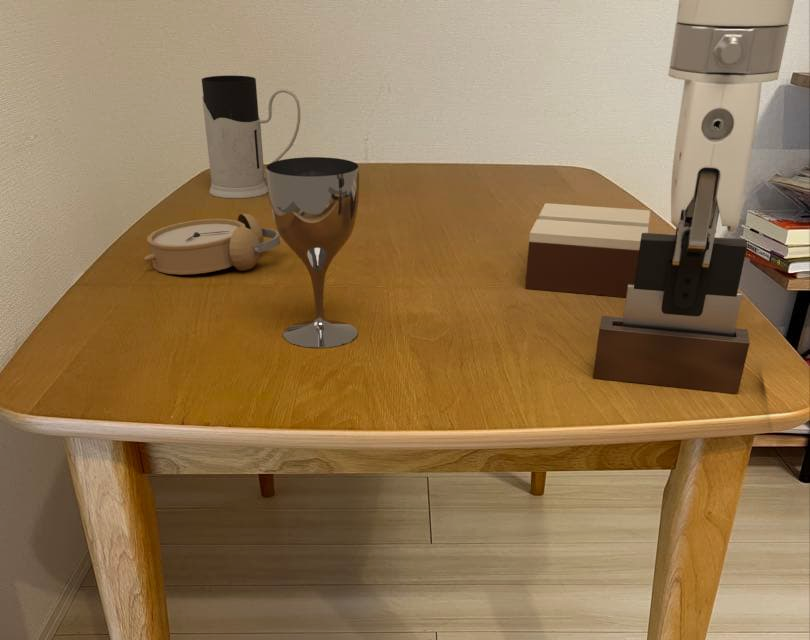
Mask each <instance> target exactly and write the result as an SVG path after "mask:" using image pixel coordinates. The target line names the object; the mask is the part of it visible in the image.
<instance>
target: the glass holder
mask: <svg viewBox="0 0 810 640" xmlns="http://www.w3.org/2000/svg"><path fill="white" fill-rule="evenodd" d="M201 87H202V108H203V118H204V126H205V135H206V136H205V137H206V144H207V151H208V152H207V153H208V162H209V163H208V164H209V172H210V180H211V181H210V182H211V184H210V188H209V194H210V195H211V196H214V197H218V198H223V199H248V198H256V197H260V196H263V195H266V194H267V193H268V186H267V182H266V181H267V171H266V169H265V167H264V166H265V165H264V152H263V139H262V127H261V126H262V125H261V124H267V123H269V122H270V121H271V120H272V116H273V114H272V113H273V111H272V109H273V102H274V99H275V98H276V96H277V95H278V94H281V93H286V94H288V95H290V96H291V97H292V98H293V99H294V102H295V103H296V108H297V120H296V121H297V122H296V126H295V131H294V133H293V136H292V138H291V140H290V142H289V144H287V145H288V146H287V147H286V148H285V149H284V150H283V151H282V152H281V154H279V155H278V156H277V157H276V158H275V159H273V161H272V162H275V161H279V160H281V159H282V158H283V156H284V155H285V154H286V153H287V152H289V150H290V149H291V148H292V147H293V145H294V143H295V141H296V138H297V136H298V133H299V129H300V125H301V106H300V101H299V99H298V97H297V96H296V95H295V94H294V93H293V91H291V90H288V89H281V88H280V89H278V90H276V91H275V92H273V94H272V95H271V96H270V99H269V102H268V117H267V119H264V120H262V119H261V118H260V116H259V104H258V103H259V102H258V90H257V79H256V77H253V76H250V75H249V76H248V75H214V76H213V75H211V76H206V77H203V78H201Z"/></svg>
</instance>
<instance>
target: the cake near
mask: <svg viewBox="0 0 810 640" xmlns="http://www.w3.org/2000/svg"><path fill="white" fill-rule="evenodd" d="M642 233H649V227H639V226H625V225H612V224H598V223H584V222H571V221H557V220H543V219H539V218H536V220H535V222H534V224H533V225H532V228H531V229H530V232H529V237H528V248H527V263H526V271H525V284H524V285H525V286H524V289H526V290H536V291H548V292H556V293H557V292H559V293H567V294H569V293H570V294H580V295H581V294H582V295H592V296H602V297H615V298H624V299H626V295H627V288H628V285H634V283H635V276H636V269H637V262H638V255H639V248H640V241H641V235H642Z"/></svg>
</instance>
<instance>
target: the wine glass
mask: <svg viewBox="0 0 810 640" xmlns="http://www.w3.org/2000/svg"><path fill="white" fill-rule="evenodd" d="M265 170H266V171H267V173H266V186H267V187H268V192H267V193H268V201H269V205H270V211H271V215H272V218H273V221H274V224H275V227H276V231H277V232H278V233H279V237H281V239H282V240H283V241H284V243H285V244H286V246H288V247H289V248H290V249H291V250H292V252H293V253H294V254H295V255H296V256H297V257H298V258H299V259H300V260H301V262H302V264H304V266H305V267H306V269H307V272H308V274H309V276H310V280H311V285H312V290H313V297H314V309H315V312H314V313H315V317H314V319H311V320H304V321H301V322H300V321H299V322H297V323H293V324H292V325H290V326H288V327H287V328H285V329H284V332H282V333H283V334H282V337H283V339H284V340H285V341H286V342H288V343H289V344H292V345H294V344H295V346H298V345H299V346H298V347H302V348H313V349H323V348H333V347H340V346H344V345H346V344H349V343H351V342H352V341H354V340H355V339H357V337H358V335H359V332H358V329H357V328H356V327H355V326H353V324H350V323H347V322H345V321H340V320H334V319H326V318H325V311H324V309H325V308H324V291H325V280H326V274H327V272H328V269H329V266H330V265H331V264H332V262H333V260H334V258H335V257H336V256H337V255H338V253H339V252H340V251H341V249H342V248H343V247H344V246H345V244H347V242H348V241H349V239H350V238H351V236H352V234H353V231H354V228H355V224H356V221H357V220H356V219H357V215H358V214H357V213H358V208H359V200H360V199H359V198H360V168H359V165H358V163H356V162H354V161H352V160H349V159H344V158H337V157H325V156H323V157H322V156H320V157H319V156H305V157H304V156H303V157H292V158H285V159H279V160H278V161H275V162H273V161H272V162H270V163H269V164H267V165H266V168H265Z"/></svg>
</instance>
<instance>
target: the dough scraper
mask: <svg viewBox="0 0 810 640" xmlns="http://www.w3.org/2000/svg"><path fill="white" fill-rule="evenodd" d="M676 238H677V235H675V234H669V233H668V234H666V233H652V232H648V233H642V235H641V241H640V248H639V255H638V262H637V269H636V276H635V283H634V285H628V288H627V295H626V298H625V302H624V303H625V304H624V308H623V309H624V310H623V316H622V318H623V324H622V327H632V328H642V329H652V330H663V331H673V332H684V333H694V334H705V335H715V336H725V337H733V336H734V331H735V328H737V321H738V317H739V313H740V308H741V303H742V300H743V299H742V298H743V293H742V292H739V286H740V283H741V279H742V273H743V268H744V262H745V259H746V254H747V249H748V245H747V240H746V239H745V238H731V237H716V236H715V237H714V243H713V248H712V253H711V258H710V264H709V265H711V271H710V276H709V281H708V286H707V292H706V297H705V302H704V307H703V312H702V314H701V315H700V316H697V317H696V316H684V315H672V314H664V313H663V312H662V310H661V309H662V301H663V295H664V289H665V283H666V277H667V271H668V265H669V262H673V256H674V250H675V244H676ZM684 238H685V236H684Z"/></svg>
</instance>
